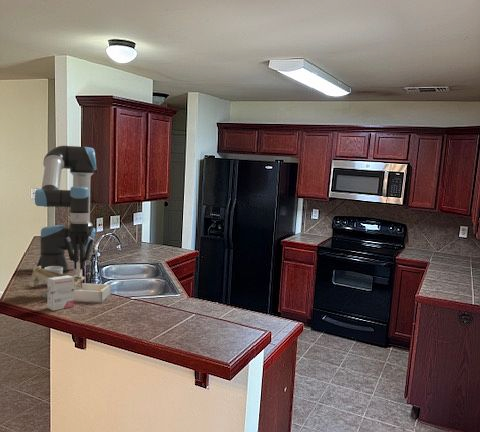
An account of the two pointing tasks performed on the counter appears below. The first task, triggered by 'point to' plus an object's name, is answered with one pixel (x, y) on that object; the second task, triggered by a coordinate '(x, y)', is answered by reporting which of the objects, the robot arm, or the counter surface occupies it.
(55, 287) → the ink box
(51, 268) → the cup
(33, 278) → the lever
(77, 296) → the dish
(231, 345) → the counter surface
